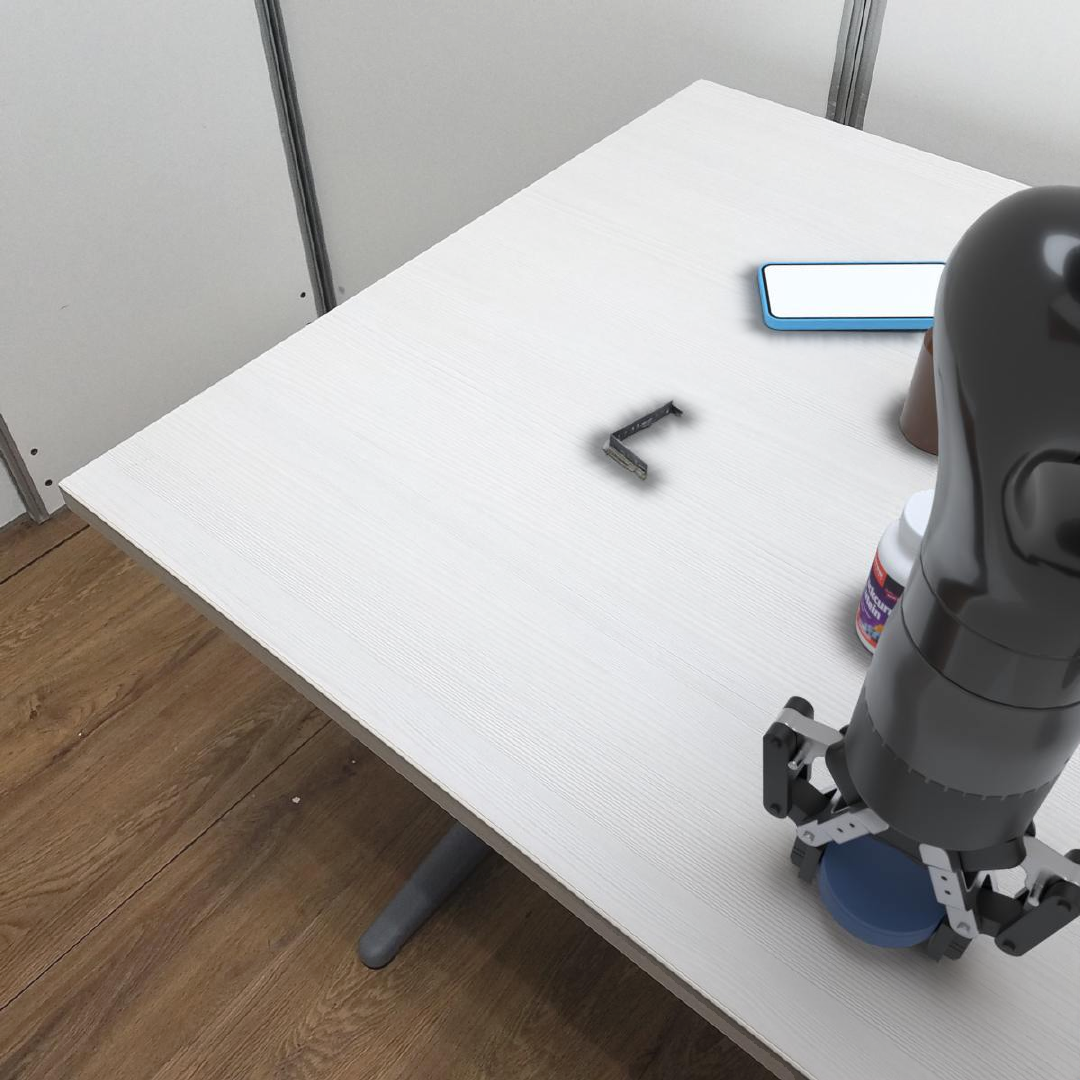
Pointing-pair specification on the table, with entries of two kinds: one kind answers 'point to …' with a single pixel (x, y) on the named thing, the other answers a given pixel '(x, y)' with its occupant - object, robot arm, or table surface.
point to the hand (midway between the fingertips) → (874, 904)
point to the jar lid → (878, 893)
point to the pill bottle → (892, 567)
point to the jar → (922, 401)
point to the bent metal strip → (631, 428)
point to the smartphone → (849, 294)
